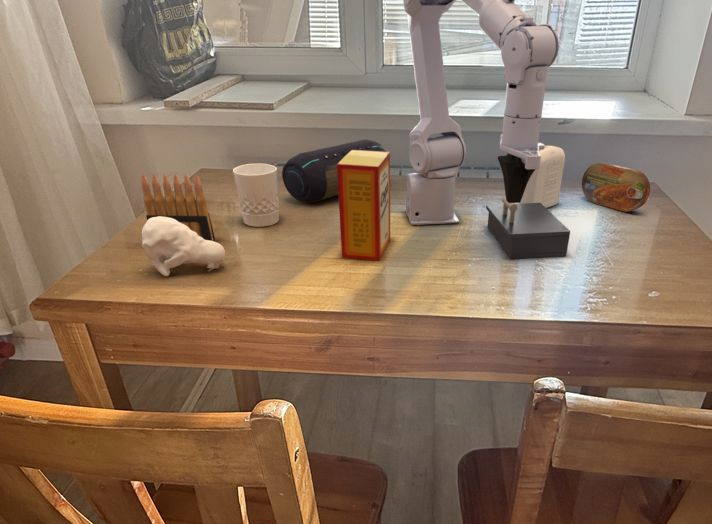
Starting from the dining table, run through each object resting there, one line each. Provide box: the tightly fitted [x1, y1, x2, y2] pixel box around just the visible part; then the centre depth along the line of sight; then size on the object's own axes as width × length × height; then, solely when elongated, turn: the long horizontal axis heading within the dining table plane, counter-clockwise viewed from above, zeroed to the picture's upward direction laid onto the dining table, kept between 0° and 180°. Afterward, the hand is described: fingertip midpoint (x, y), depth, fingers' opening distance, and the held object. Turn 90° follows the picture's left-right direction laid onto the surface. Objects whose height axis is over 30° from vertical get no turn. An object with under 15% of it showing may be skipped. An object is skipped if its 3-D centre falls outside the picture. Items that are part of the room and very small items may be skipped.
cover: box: [485, 195, 571, 238], centre depth 103 cm, size 11×15×4 cm
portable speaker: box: [281, 139, 387, 203], centre depth 125 cm, size 25×10×10 cm, turn 137°
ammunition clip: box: [140, 173, 216, 242], centre depth 100 cm, size 11×2×12 cm, turn 91°
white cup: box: [232, 162, 280, 228], centre depth 110 cm, size 8×8×10 cm
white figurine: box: [141, 216, 226, 277], centre depth 91 cm, size 6×8×12 cm
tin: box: [581, 162, 651, 213], centre depth 122 cm, size 15×3×8 cm, turn 41°
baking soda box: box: [337, 150, 391, 262], centre depth 98 cm, size 10×6×16 cm
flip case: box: [486, 212, 571, 260], centre depth 105 cm, size 10×15×4 cm
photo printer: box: [518, 145, 566, 209], centre depth 119 cm, size 10×4×12 cm, turn 134°
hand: (513, 201), depth 96 cm, fingers closed
